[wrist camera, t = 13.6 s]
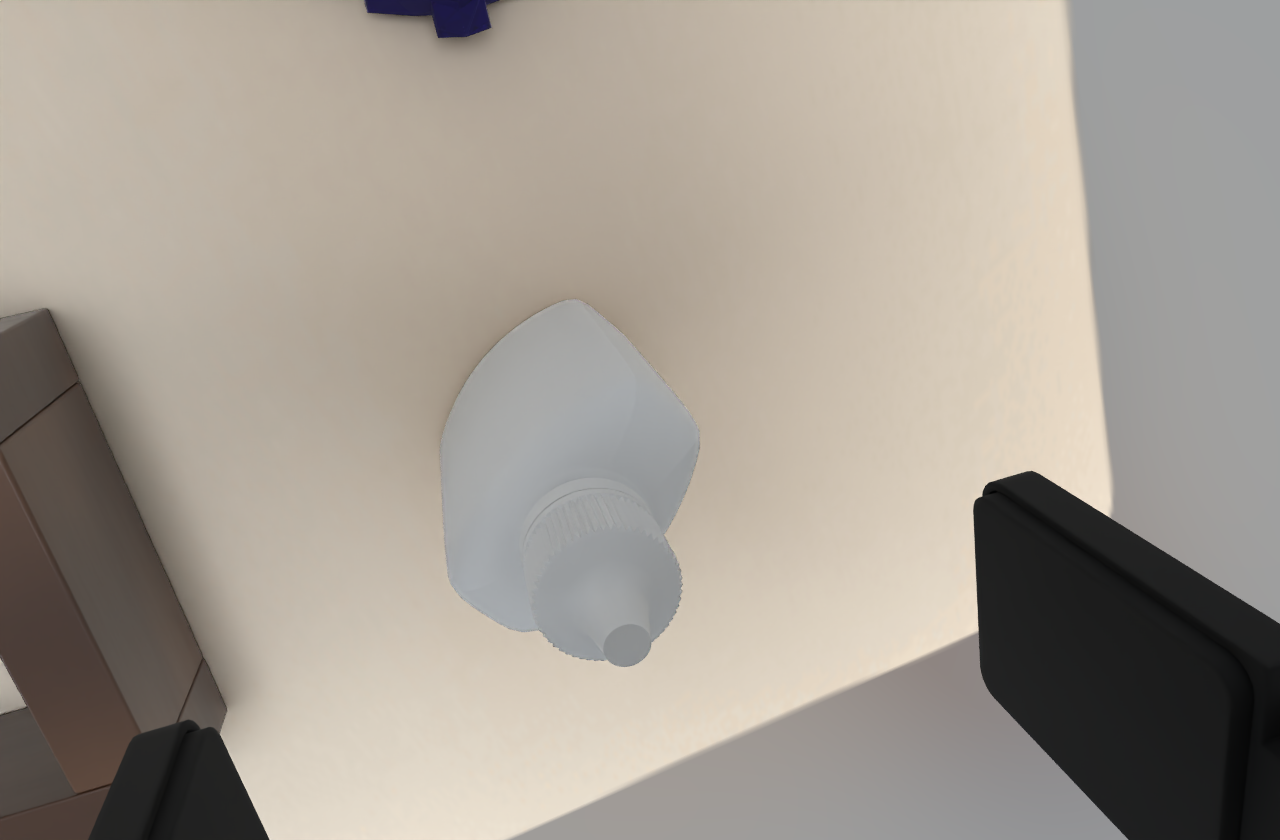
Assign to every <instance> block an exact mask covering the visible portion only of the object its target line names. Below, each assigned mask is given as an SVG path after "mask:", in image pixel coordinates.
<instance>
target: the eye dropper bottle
mask: <svg viewBox="0 0 1280 840" xmlns="http://www.w3.org/2000/svg"><path fill="white" fill-rule="evenodd" d="M699 448H700V431H699V428H698V426H697V424H696V422H695V420H694V419H693V417H692V415H691V413H690V412H689V411H688V409H687V408H686V407H685V406H684V404H683V403H682V402H681V400H680V399H679V398H678V397H677V395H676V394H675V393H674V392H673V391H672V390H671V388H670V387H669V386H668V385H667V384H666V382H665V381H664V380H663V379H662V378H661V377H660V375H659V374H658V373H657V372H656V371H655V370H654V368H653V367H652V366H651V365H650V364H649V363H648V361H647V360H646V359H645V358H644V357H643V356H642V355H641V353H640V352H639V351H638V350H637V349H636V348H635V347H634V345H633V344H632V343H631V342H630V341H629V340H628V339H627V337H626V336H625V335H623V334H622V333H621V332H620V331H619V330H618V329H617V328H616V327H615V326H614V325H612V324H611V323H610V322H609V321H608V320H606V319H605V318H604V317H603V316H602V315H601V314H599V313H598V312H597V311H596V310H595V309H593V308H592V307H591V306H589V305H588V304H587V303H585V302H582V301H580V300H578V299H572V300H563V301H561V302H558V303H556V304H554V305H551V306H549V307H547V308H546V309H544V310H542V311H540V312H538V313H537V314H535V315H533V316H532V317H530V318H528V319H527V320H526V321H524V322H523V323H521V324H520V325H518V326H517V327H516V328H514V329H513V330H512V331H510V332H509V333H508V334H507V335H506V336H505V337H503V338H502V339H501V340H500V341H499V342H498V343H497V344H496V345H495V346H494V347H493V348H492V349H491V350H490V351H489V352H488V353H487V354H486V355H485V356H484V358H483V359H482V360H481V361H480V363H479V364H478V365H477V366H476V368H475V369H474V371H473V372H472V373H471V375H470V376H469V378H468V379H467V381H466V383H465V384H464V386H463V387H462V389H461V391H460V393H459V395H458V397H457V399H456V401H455V403H454V405H453V407H452V410H451V412H450V415H449V417H448V420H447V422H446V425H445V429H444V432H443V435H442V440H441V444H440V465H441V487H442V507H443V525H444V541H445V551H446V562H447V571H448V577H449V580H450V583H451V585H452V587H453V588H454V589H455V591H456V592H457V593H458V595H459V596H460V597H461V598H462V599H463V600H465V601H466V602H467V603H469V604H470V605H471V606H473V607H474V608H475V609H477V610H478V611H480V612H481V613H483V614H485V615H486V616H488V617H489V618H491V619H493V620H494V621H496V622H497V623H499V624H501V625H503V626H505V627H507V628H509V629H512V630H516V631H520V632H529V631H536V630H539V631H540V632H542V633H543V637H545V638H547V639H548V642H550V643H553V647H557V648H559V651H564V652H565V653H566V654H569V655H572V656H573V657H579V658H580V659H586V660H594V661H597V660H601V661H604V660H608V661H609V662H611V663H612V664H614V665H616V666H621V667H627V666H632V665H635V664H637V663H639V662H640V661H642V660H643V659H644V658H645V657H646V656H647V654H648V653H649V651H650V648H651V642H653V641H654V639H656V638H657V637H659V635H660V634H661V633H662V632H664V630H665V628H666V627H667V626H668V625H669V622H670V621H671V620H672V619H673V616H674V615H675V613H676V609H677V608H678V606H679V604H678V603H679V601H680V600H681V597H680V595H681V593H682V590H681V587H682V585H683V584H682V582H681V580H682V576H681V574H680V573H681V569H680V567H679V563H678V561H677V559H676V556H675V554H674V552H673V551H672V549H671V547H670V545H669V543H668V542H667V540H666V538H665V536H664V534H665V532H666V531H667V529H668V527H669V526H670V524H671V522H672V520H673V518H674V516H675V515H676V513H677V511H678V509H679V506H680V504H681V502H682V500H683V498H684V495H685V493H686V490H687V488H688V485H689V483H690V480H691V477H692V474H693V471H694V467H695V464H696V461H697V457H698V452H699Z"/></svg>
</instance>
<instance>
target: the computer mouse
mask: <svg viewBox="0 0 1280 840" xmlns="http://www.w3.org/2000/svg"><path fill="white" fill-rule="evenodd" d="M496 1H499V0H364V2H365V5H366V9H367V13H381V14H395V15H409V16H428V15H432V17H433V21H434V24H435V28H436V32H437V36H438V38H449V37H468V36H470V35H473V34H476V33H479V32H481V31H484V30H487V29H489V28H492V26H491V22H490V18H489V14H488V11H487V7H486V5H488V4H490V3H493V2H496Z"/></svg>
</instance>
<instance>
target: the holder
mask: <svg viewBox="0 0 1280 840" xmlns="http://www.w3.org/2000/svg"><path fill="white" fill-rule="evenodd" d="M77 381H79V378H78V376H77V374H76V371H75V369H74V367H73V365H72V362H71V360H70V358H69V356H68V353H67V351H66V349H65V347H64V344H63V342H62V340H61V338H60V336H59V333H58V331H57V329H56V327H55V324H54V322H53V320H52V318H51V315H50V313H49V311H48V310H47V309H39V310H35V311H30V312H26V313H22V314H17V315H13V316H8V317H4V318H0V658H1V660H2V661H3V663H4V665H5V667H6V669H7V671H8V672H9V674H10V676H11V678H12V680H13V682H14V683H15V685H16V687H17V689H18V691H19V692H20V694H21V696H22V698H23V700H24V702H25V703H26V705H27V707H28V708H26V709H22V710H19V711H15V712H12V713H8V714H5V715H1V716H0V840H88V838H89V836H90V834H91V831H92V829H93V827H94V824H95V822H96V820H97V817H98V815H99V813H100V810H101V808H102V806H103V803H104V801H105V799H106V796H107V794H108V792H109V789H110V787H111V785H112V782H113V780H114V778H115V775H116V773H117V771H118V768H119V766H120V764H121V761H122V759H123V757H124V754H125V752H126V750H127V747H128V745H129V743H130V741H131V740H132V738H133V737H134V736H136V735H138V734H141V733H144V732H147V731H151V730H154V729H158V728H161V727H164V726H168V725H171V724H174V723H178V722H181V721H185V720H188V719H189V720H193V721H194V722H196V723H197V724H198V725H199V727H200V729H204V728H207V727H214V728H215V729H216V730H217V731H218V733H219V734H220V731H221V728H222V725H223V722H224V719H225V716H226V713H227V709H226V706H225V704H224V702H223V700H222V697H221V695H220V693H219V691H218V688H217V686H216V684H215V682H214V680H213V677H212V675H211V673H210V671H209V668H208V666H207V664H206V662H205V659H203V658H202V654H201V652H200V650H199V647H198V645H197V643H196V641H195V638H194V636H193V634H192V632H191V630H190V627H189V625H188V623H187V621H186V618H185V616H184V614H183V612H182V609H181V607H180V605H179V603H178V600H177V598H176V596H175V594H174V592H173V589H172V587H171V585H170V583H169V580H168V578H167V576H166V574H165V571H164V569H163V567H162V565H161V562H160V560H159V558H158V556H157V554H156V551H155V549H154V547H153V545H152V542H151V540H150V538H149V536H148V533H147V531H146V529H145V527H144V524H143V522H142V520H141V518H140V516H139V513H138V511H137V509H136V507H135V504H134V502H133V500H132V498H131V495H130V493H129V491H128V489H127V486H126V484H125V482H124V480H123V478H122V475H121V473H120V471H119V469H118V466H117V464H116V462H115V460H114V457H113V455H112V453H111V451H110V448H109V446H108V444H107V442H106V440H105V437H104V435H103V433H102V431H101V428H100V426H99V424H98V422H97V419H96V417H95V415H94V413H93V411H92V408H91V406H90V404H89V402H88V399H87V397H86V395H85V393H84V390H83V388H82V386H81V384H80V383H76V382H77Z"/></svg>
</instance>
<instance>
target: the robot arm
mask: <svg viewBox="0 0 1280 840" xmlns="http://www.w3.org/2000/svg"><path fill="white" fill-rule="evenodd" d="M973 514H974V537H975V559H976V582H977V604H978V626H979V649H980V668H981V673H982V676H983V680H984V682H985V684H986V687H987V688H988V690H989V692H990V693H991V694H992V696H993V697H994V698H995V699H996V700H997V701H998V702H999V703H1000V704H1001V705H1002V707H1003V708H1004V709H1005V710H1006V711H1007V712H1008V713H1009V714H1010V715H1011V716H1012V717H1013V718H1014V719H1015V720H1016V721H1017V722H1018V724H1020V726H1021V727H1022V728H1023V729H1024V730H1025V731H1026V732H1027V733H1028V734H1029V735H1030V736H1031V737H1032V738H1033V739H1034V740H1035V741H1036V742H1037V744H1038V745H1040V747H1041V748H1042V749H1043V750H1044V751H1045V752H1046V753H1047V754H1048V755H1049V756H1050V757H1051V758H1052V759H1053V760H1054V761H1055V763H1056V764H1058V766H1059V767H1060V768H1061V769H1062V770H1063V771H1064V772H1065V773H1066V774H1067V775H1068V776H1069V777H1070V778H1071V779H1072V780H1073V781H1074V783H1075V784H1076V785H1077V786H1078V787H1079V788H1080V789H1081V790H1082V791H1083V792H1084V793H1085V794H1086V795H1087V796H1088V797H1089V798H1090V799H1091V801H1092V802H1093V803H1094V804H1095V805H1096V806H1097V807H1098V808H1099V809H1100V810H1101V811H1102V812H1103V813H1104V814H1105V815H1106V816H1107V817H1108V819H1110V821H1111V822H1112V823H1113V824H1114V825H1115V826H1116V827H1117V828H1118V829H1119V830H1120V831H1121V832H1122V833H1123V834H1124V835H1125V836H1126V837H1127V838H1128V840H1280V624H1279V623H1277V622H1276V621H1274V620H1273V619H1271V618H1270V617H1268V616H1266V615H1265V614H1263V613H1262V612H1260V611H1258V610H1257V609H1255V608H1254V607H1252V606H1250V605H1248V604H1247V603H1245V602H1244V601H1242V600H1241V599H1239V598H1237V597H1236V596H1234V595H1232V594H1231V593H1229V592H1228V591H1226V590H1224V589H1223V588H1221V587H1220V586H1218V585H1217V584H1215V583H1213V582H1212V581H1210V580H1209V579H1207V578H1205V577H1204V576H1202V575H1201V574H1199V573H1197V572H1196V571H1194V570H1193V569H1191V568H1189V567H1188V566H1186V565H1185V564H1183V563H1181V562H1180V561H1178V560H1177V559H1175V558H1173V557H1172V556H1170V555H1169V554H1167V553H1165V552H1164V551H1162V550H1160V549H1159V548H1157V547H1156V546H1154V545H1152V544H1151V543H1149V542H1148V541H1146V540H1144V539H1143V538H1141V537H1140V536H1138V535H1136V534H1134V533H1133V532H1132V531H1130V530H1128V529H1127V528H1125V527H1124V526H1122V525H1120V524H1118V523H1117V522H1116V521H1114V520H1112V519H1111V518H1109V517H1108V516H1106V515H1104V514H1103V513H1101V512H1100V511H1098V510H1096V509H1095V508H1093V507H1092V506H1090V505H1088V504H1087V503H1085V502H1083V501H1082V500H1080V499H1079V498H1077V497H1075V496H1074V495H1072V494H1071V493H1069V492H1067V491H1066V490H1064V489H1063V488H1061V487H1059V486H1058V485H1056V484H1055V483H1053V482H1051V481H1050V480H1048V479H1047V478H1045V477H1043V476H1042V475H1040V474H1038V473H1036V472H1033V471H1027V472H1023V473H1020V474H1017V475H1013V476H1010V477H1006V478H1003V479H1000V480H996V481H993V482H990V483H988V484H987V485H986V486H985V488H984V490H983V496H982V497H979V498H978V499H976V500H975V503H974V509H973ZM88 840H269V838H268V836H267V834H266V831H265V829H264V827H263V825H262V823H261V821H260V819H259V817H258V814H257V812H256V810H255V808H254V806H253V804H252V802H251V800H250V797H249V795H248V793H247V791H246V789H245V787H244V785H243V783H242V781H241V778H240V776H239V774H238V772H237V770H236V768H235V766H234V764H233V761H232V759H231V757H230V755H229V753H228V751H227V749H226V747H225V745H224V742H223V740H222V738H221V736H220V734H219V733H218V731H217V730H216V729H215V728H214V727H207V728H204V729H200V727H199V725H198V724H197V723H196V722H194V721H193V720H189V719H188V720H185V721H181V722H178V723H174V724H171V725H168V726H164V727H161V728H158V729H154V730H151V731H147V732H144V733H141V734H138V735H136V736H134V737H133V738H132V740H131V741H130V743H129V745H128V747H127V750H126V752H125V754H124V757H123V759H122V761H121V764H120V766H119V768H118V771H117V773H116V775H115V778H114V780H113V782H112V785H111V787H110V789H109V792H108V794H107V796H106V799H105V801H104V803H103V806H102V808H101V810H100V813H99V815H98V817H97V820H96V822H95V824H94V827H93V829H92V831H91V834H90V836H89V838H88Z"/></svg>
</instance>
